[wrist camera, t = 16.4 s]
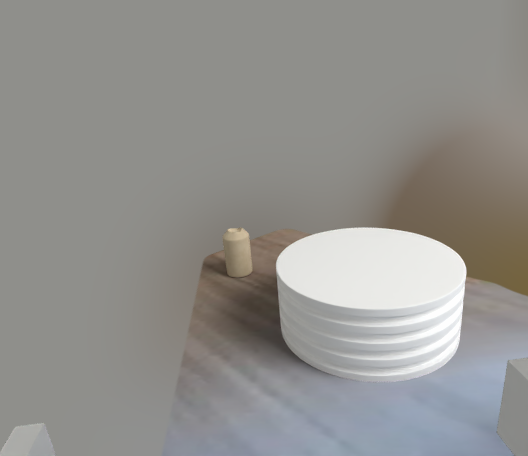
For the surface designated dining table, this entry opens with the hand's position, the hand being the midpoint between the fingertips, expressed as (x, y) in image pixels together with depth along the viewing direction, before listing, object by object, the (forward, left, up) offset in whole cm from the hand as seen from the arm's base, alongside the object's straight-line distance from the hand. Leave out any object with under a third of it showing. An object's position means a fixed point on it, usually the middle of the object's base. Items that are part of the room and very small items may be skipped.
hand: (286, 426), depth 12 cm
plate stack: (-44, -24, -30) cm, 59 cm away
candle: (-44, -55, -30) cm, 77 cm away
